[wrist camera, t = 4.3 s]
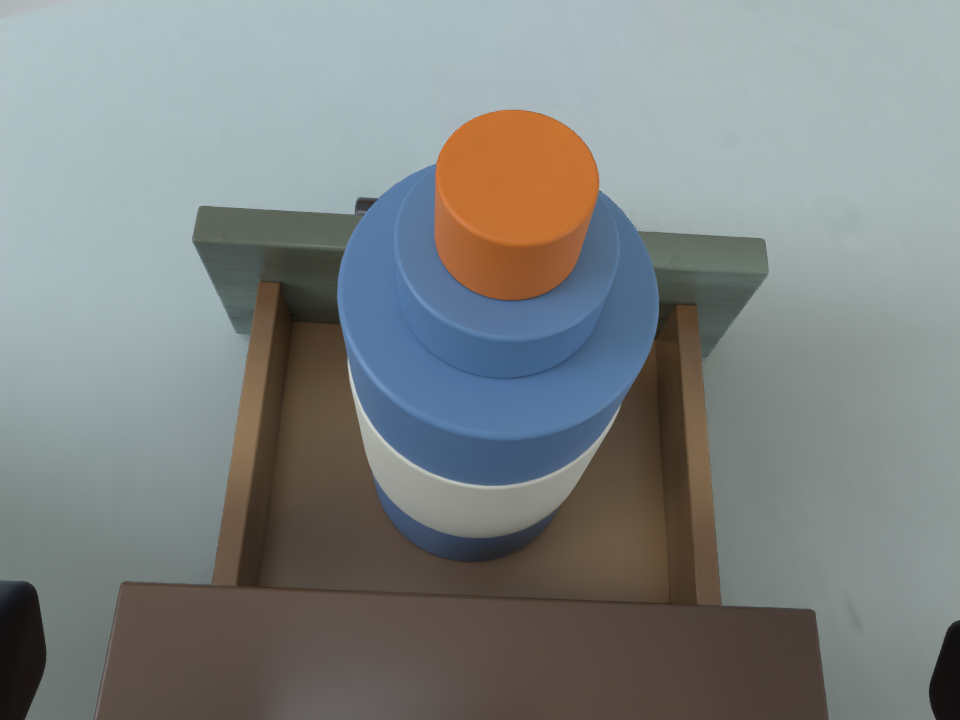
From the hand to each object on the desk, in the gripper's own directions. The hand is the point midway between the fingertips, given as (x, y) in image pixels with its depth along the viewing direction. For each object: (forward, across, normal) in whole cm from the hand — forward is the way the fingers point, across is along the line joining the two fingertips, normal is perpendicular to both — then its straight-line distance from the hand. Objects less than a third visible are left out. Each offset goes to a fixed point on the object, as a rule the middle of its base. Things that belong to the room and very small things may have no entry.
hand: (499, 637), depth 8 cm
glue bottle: (+10, 0, +4) cm, 11 cm away
